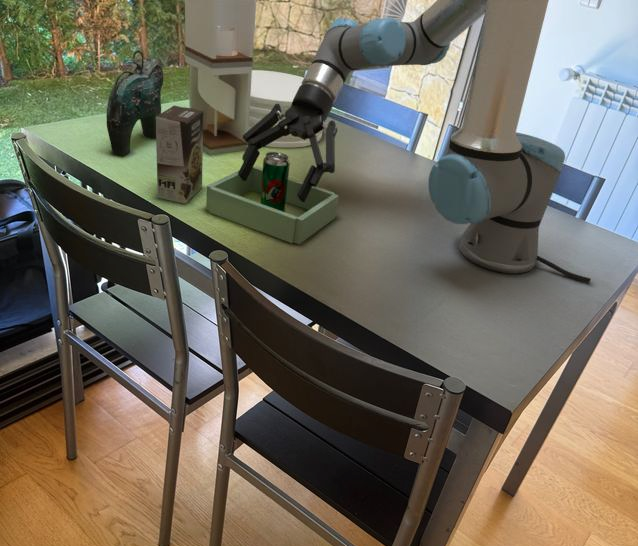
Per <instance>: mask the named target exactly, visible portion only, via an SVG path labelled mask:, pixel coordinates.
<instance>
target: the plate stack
mask: <svg viewBox="0 0 638 546" xmlns="http://www.w3.org/2000/svg"><path fill="white" fill-rule="evenodd" d="M303 79H304V77H302V76H299V75H295V74H291V73H285V72H280V71H272V70H262V69H261V70H260V69H252V78H251V94H250V110H249V126H248V131H249V130H250V129H251V128H252V127H253V126H254V125H256V124H257V123H258V122H259V121H260V120H261V119H263V118H264V117H265V116H266V115H267V114H269V113H270V112H271V110H272V108H273V107H274V105H275V104H279V105H280V107H281V108H283V109H286V110H288V109H289V108H290V107H291V105H292V102H293V99H294V97H295V95H296V93H297V91H298V89H299V87H300V86H301V85H302V81H303ZM283 119H285V117H283V118H282V120H283ZM282 120H279V121H278V122H277V123H276V124H275V125H274V126H276V125H278V123H279V122H280V121H282ZM274 126H273V127H274ZM284 128H285V129H286V128H287V126H285V127H284ZM322 136H323V130H321V131H320V132H318V133H317V134H316V137H317V141H318V142H320V141H321V140H322ZM309 146H311V144H310V140H309V138H308V139H305V140H304V139H301V138H300V137H294V136H292V135H291V134H289V135H287V136H282V137H281V138H279V139H277V140H275V141H273V142H271V143H270V144H268V145H266V146H265V147H270V148H281V149H293V148H295V149H296V148H303V147H309Z"/></svg>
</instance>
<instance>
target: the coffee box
mask: <svg viewBox="0 0 638 546" xmlns="http://www.w3.org/2000/svg"><path fill="white" fill-rule="evenodd" d="M203 112H204V111H202V110H197V109H192V108H189V107H185V106H178V105H172V106H171V107H169V108H168V109H166V110H164V111H162V112H161V114H159V115H158V116H156V139H155V141H156V142H155V145H156V189H157V190H156V191H157V192H156V193H157V198H158V199H163V200H166V201H170V202H171V201H172V202H176V203H179V204H185V205H187V204H188V203H189V202H190V200H192V199H193V198H194V197H195V196H196V195H197V194H198V193H199V192H200V191H201V190H203V162H204V161H203V160H204V159H203V158H204V157H203V152H204V151H203Z"/></svg>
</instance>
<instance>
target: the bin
mask: <svg viewBox="0 0 638 546" xmlns="http://www.w3.org/2000/svg"><path fill="white" fill-rule="evenodd" d="M238 172H239V170H237V171H234V172H233V173H231V174H229V175H226V176H224V177H222V178H221V179H220V178H219V179H218V180H215V181H213V182H212V183H210V184H207V185H206V194H205V195H206V197H205V198H206V200H205V201H206V202H205V209H206V210H207V211H208V213H210V214H213V215H215V216H218V217H220V218H223V219H226V220H229V221H232V222H234V223H236V224H239V225H242V226H245V227H246V228H247V227H248V228H250V229H253V230H255V231H258V232H261V233H263V234H266V235H268V236H272V237H274V238H276V239H279V240H282V241H283V242H284V241H285V242H287V243H290V244H294V243H295V244H297V245H300V244H302V243H303V242H305V241H306V240H307V239H308V238H311V237H312V236H313V235H314V234H316V233H317V232H318V231H320V230H321V229H322V228H324V227H325V226H327V225H328V224H329V223H330V222H332V221H333V220H335V219H336V215H337V209H338V204H339V203H338V202H339V198H340V197H339V196H340V195H338V194H336V193H335V192H333V191H330V190H327V189H325V188H321V187H320V186H319V187H318V186H316V187H313V186H312V188H311V190H310V192H309V194H308V196H307V198H306V200H305V202H302V201H300V199H299V197H298V195H297V194H298V192H299V190H300V188H301V186H302V184H303V182H304V181H301V180H298V179H295V178H292V177H290V176H288V185H287V195H286V204H287V203H288V204H290V205H292V206H296V207H299V208H301V209H304V210H307V211H305V212H304V213H302V214H301V215H299V216H297V215H293V214H290V213H288V212H286V211H285V212H282V211H280V210H277V209H274V208H271V207H268V206H266V205H263V204H260V202H258V201H254V200H252V199H249V198H247V197H243V195H245V194H246V193H248V192H250V191H252V192H253V191H254V192H256V193H260V194H261V185H262V172H263V167H260V166H255V165H254V166H253V168H252V170H251V172H250V174H249V176H248V178H247V180H246V181H243V180H242V179H241V177H240V176H239V175H238Z"/></svg>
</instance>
